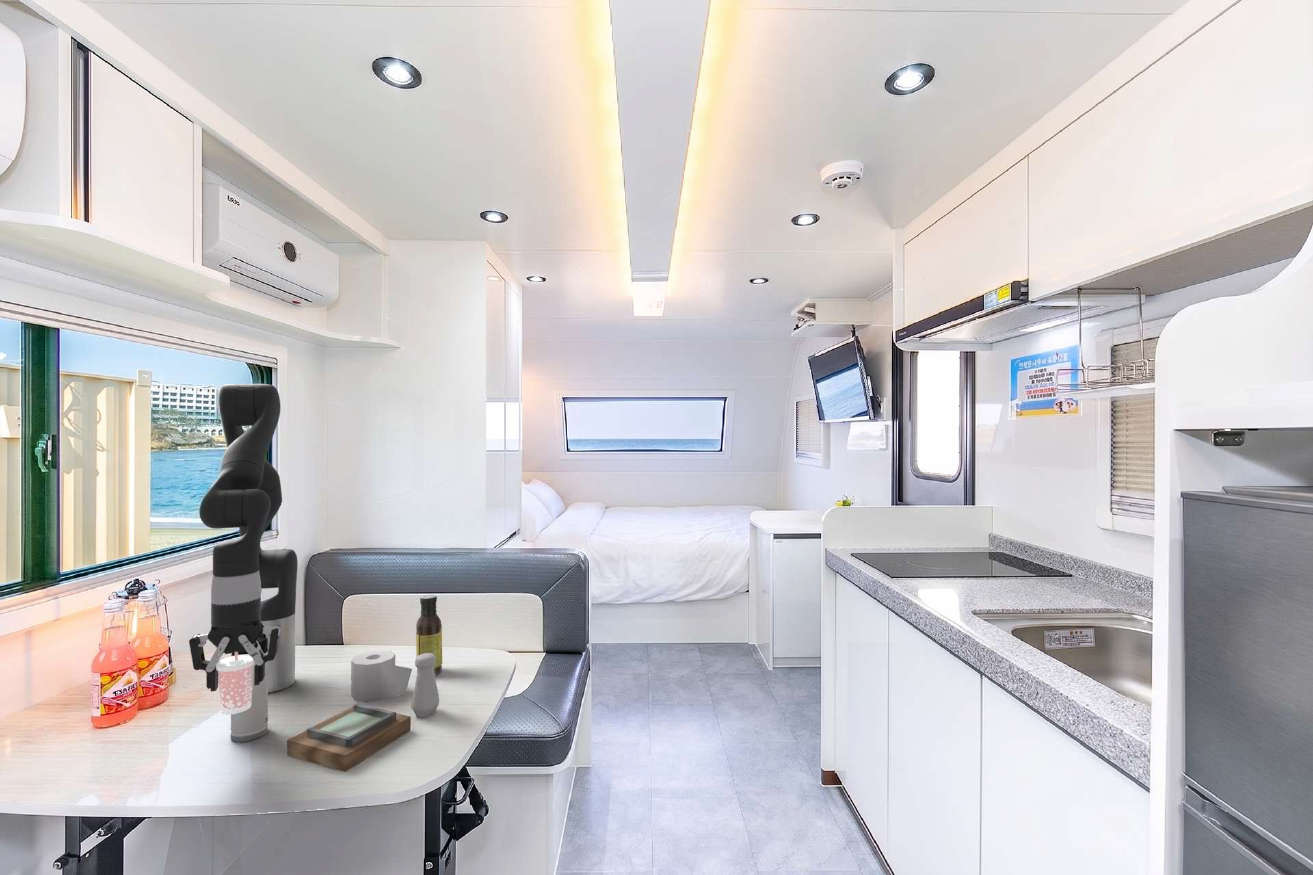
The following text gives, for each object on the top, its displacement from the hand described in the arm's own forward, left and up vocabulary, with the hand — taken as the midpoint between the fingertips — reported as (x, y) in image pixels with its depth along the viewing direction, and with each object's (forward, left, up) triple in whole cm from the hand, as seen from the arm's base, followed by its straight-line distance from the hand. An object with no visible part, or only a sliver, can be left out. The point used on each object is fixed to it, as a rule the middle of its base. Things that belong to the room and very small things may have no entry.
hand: (236, 686), depth 109 cm
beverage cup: (0, 0, -4) cm, 4 cm away
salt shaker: (+18, +29, -15) cm, 37 cm away
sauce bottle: (+3, +47, -15) cm, 49 cm away
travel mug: (-9, +9, -15) cm, 19 cm away
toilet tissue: (0, +33, -15) cm, 36 cm away
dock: (+13, +14, -15) cm, 24 cm away
